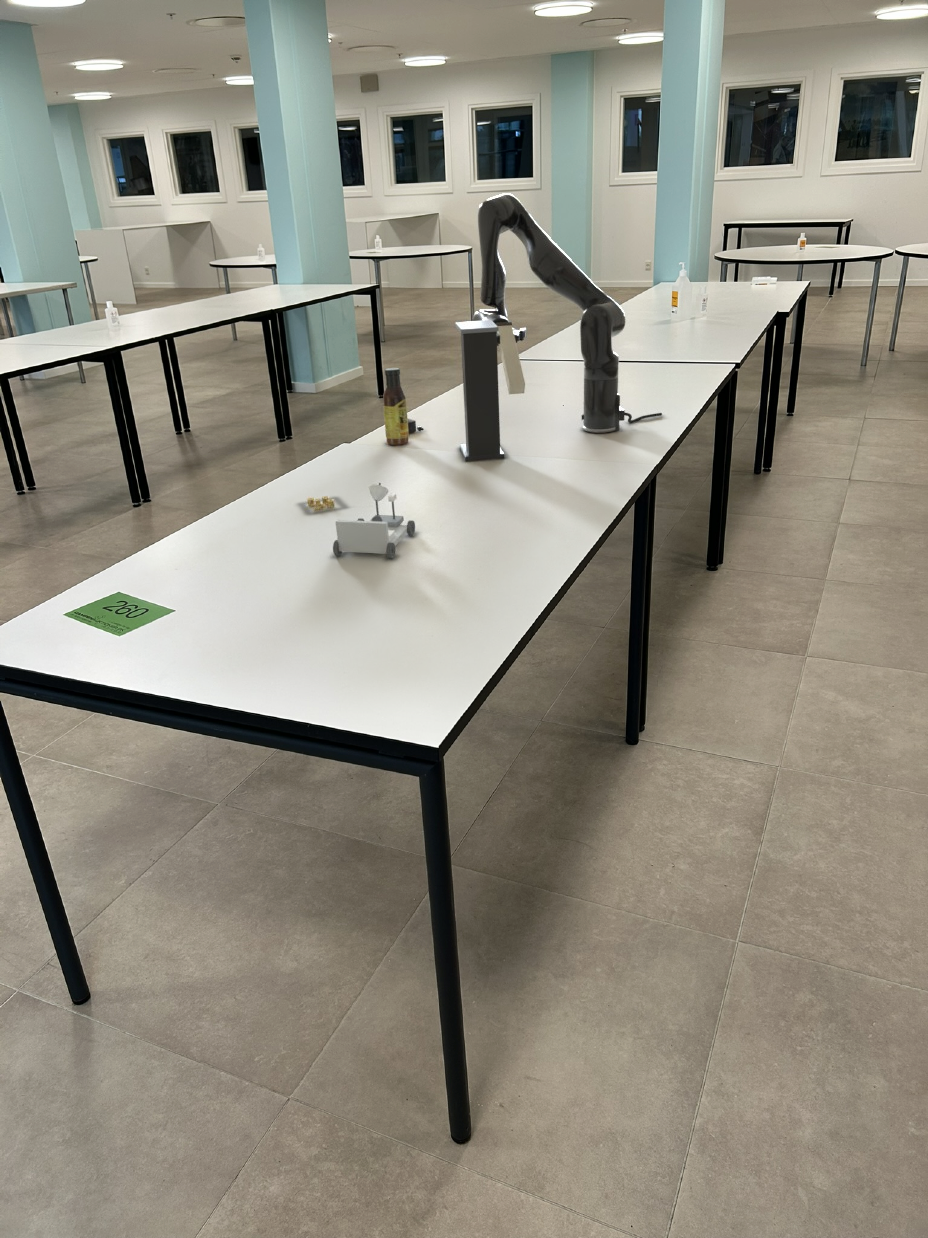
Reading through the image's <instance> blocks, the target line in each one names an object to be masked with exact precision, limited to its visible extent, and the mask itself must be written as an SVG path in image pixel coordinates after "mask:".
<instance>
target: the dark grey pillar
mask: <svg viewBox="0 0 928 1238" xmlns="http://www.w3.org/2000/svg"><path fill="white" fill-rule="evenodd" d="M455 328H456V329H457V330H458V331H459V333H460V343H461V345H460V347H461V366H462V387H463V389H462V390H463V407H464V408H463V409H464V427H465V428H464V431H465V443H459V449H460V451H461V455H462V456H463V459H464V461H465V462H475V461H476V462H478V461H489V460H503V459H505V458H506V457H505V453H504V451H503V449H502V447H501V426H500V423H501V421H500V392H499V371H498V370H499V364H498V363H499V361H498V360H499V359H498V346H497V332H496V331H499V327H498V326H497V325H496V324H495V323H494V322H493V321H491V320H484V321H472V320H469V321H455Z"/></svg>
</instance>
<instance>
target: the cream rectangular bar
mask: <svg viewBox="0 0 928 1238" xmlns="http://www.w3.org/2000/svg"><path fill="white" fill-rule="evenodd" d="M496 325H497V326H498V327H499V331H496V332H497V334H499V335H500V344H499V346H498V348H499V353H500V358H501V363H502V369H503V372H504V377H505V383H506V387H507V392H508V395H518V394H519V395H521V394H525V390H526V381H525V377H524V372H523V367H522V364H521V363H522V362H521V359H520V355H519V350H518V345H517V343H516V341H515V337H514V332H513V328H514V326H513V327H512V325H513V322H512V321H510V322H501V323H496Z"/></svg>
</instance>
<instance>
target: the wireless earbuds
mask: <svg viewBox="0 0 928 1238" xmlns="http://www.w3.org/2000/svg"><path fill="white" fill-rule="evenodd" d="M407 419H408V433H409V434H414V433H417V432H421V431H424V430H425V428H424V427H422V426H421V425H417V423H416V422H417V421H416V420H414V419H410V418H407Z"/></svg>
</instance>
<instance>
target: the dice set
mask: <svg viewBox="0 0 928 1238" xmlns="http://www.w3.org/2000/svg"><path fill="white" fill-rule="evenodd" d="M306 500H307V506H308V507H309V508H310V507H314V511H321V510H322V509H326V508H328V509H333V508H335V507H336V506H335V499H333V498H330V497H329V496H328V495H324V496H321V499H320V498H315V497H307V499H306ZM321 501H322V503H321Z"/></svg>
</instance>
